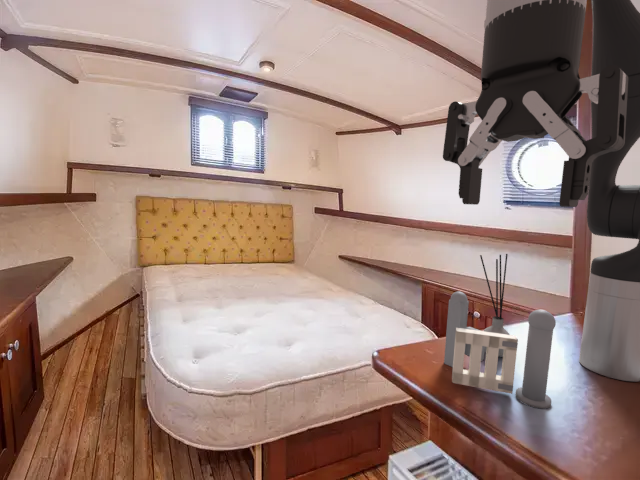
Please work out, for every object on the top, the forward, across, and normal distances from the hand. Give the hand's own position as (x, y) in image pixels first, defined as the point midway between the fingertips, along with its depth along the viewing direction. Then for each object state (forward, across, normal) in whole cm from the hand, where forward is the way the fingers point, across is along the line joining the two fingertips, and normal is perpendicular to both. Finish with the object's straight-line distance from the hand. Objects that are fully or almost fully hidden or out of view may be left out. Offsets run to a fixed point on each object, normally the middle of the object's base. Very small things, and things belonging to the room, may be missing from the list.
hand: (514, 205), depth 32 cm
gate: (+28, +10, -18) cm, 35 cm away
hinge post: (+29, +4, -22) cm, 37 cm away
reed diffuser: (+29, +16, -33) cm, 47 cm away
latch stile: (+29, +16, -22) cm, 40 cm away
